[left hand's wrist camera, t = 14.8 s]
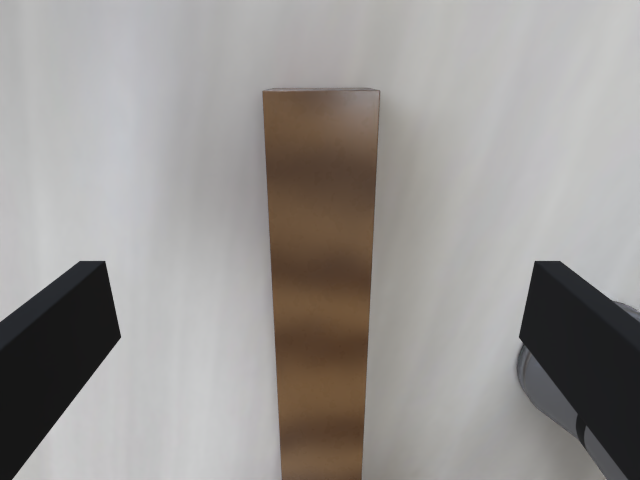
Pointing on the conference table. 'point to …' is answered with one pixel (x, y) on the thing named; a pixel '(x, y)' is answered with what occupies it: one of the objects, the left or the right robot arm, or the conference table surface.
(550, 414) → the right robot arm
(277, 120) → the beam
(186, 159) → the conference table surface
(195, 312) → the conference table surface
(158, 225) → the conference table surface
